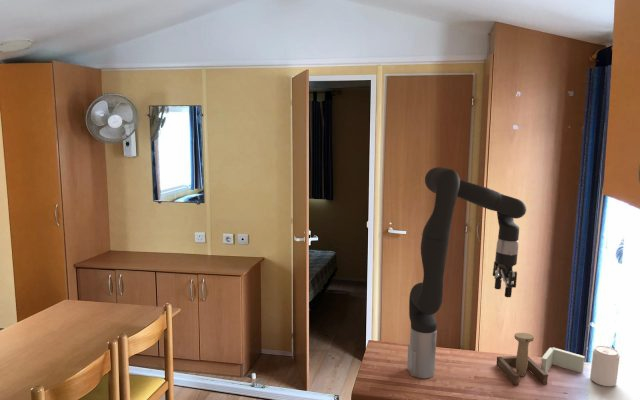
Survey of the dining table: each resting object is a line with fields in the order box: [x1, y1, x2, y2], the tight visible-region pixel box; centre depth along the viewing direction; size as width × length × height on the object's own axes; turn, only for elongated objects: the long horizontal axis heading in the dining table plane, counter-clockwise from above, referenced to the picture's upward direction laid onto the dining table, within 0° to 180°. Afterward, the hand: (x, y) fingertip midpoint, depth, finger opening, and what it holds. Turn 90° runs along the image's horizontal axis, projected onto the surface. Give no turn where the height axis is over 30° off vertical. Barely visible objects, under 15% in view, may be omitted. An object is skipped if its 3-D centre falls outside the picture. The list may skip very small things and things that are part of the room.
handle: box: [514, 332, 535, 377], centre depth 176 cm, size 5×6×15 cm
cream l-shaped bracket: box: [540, 346, 586, 374], centre depth 182 cm, size 17×9×6 cm, turn 95°
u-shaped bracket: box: [496, 355, 549, 386], centre depth 177 cm, size 12×14×4 cm
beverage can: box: [589, 345, 621, 387], centre depth 172 cm, size 8×8×12 cm
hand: (502, 292), depth 183 cm, fingers open, 8 cm apart
